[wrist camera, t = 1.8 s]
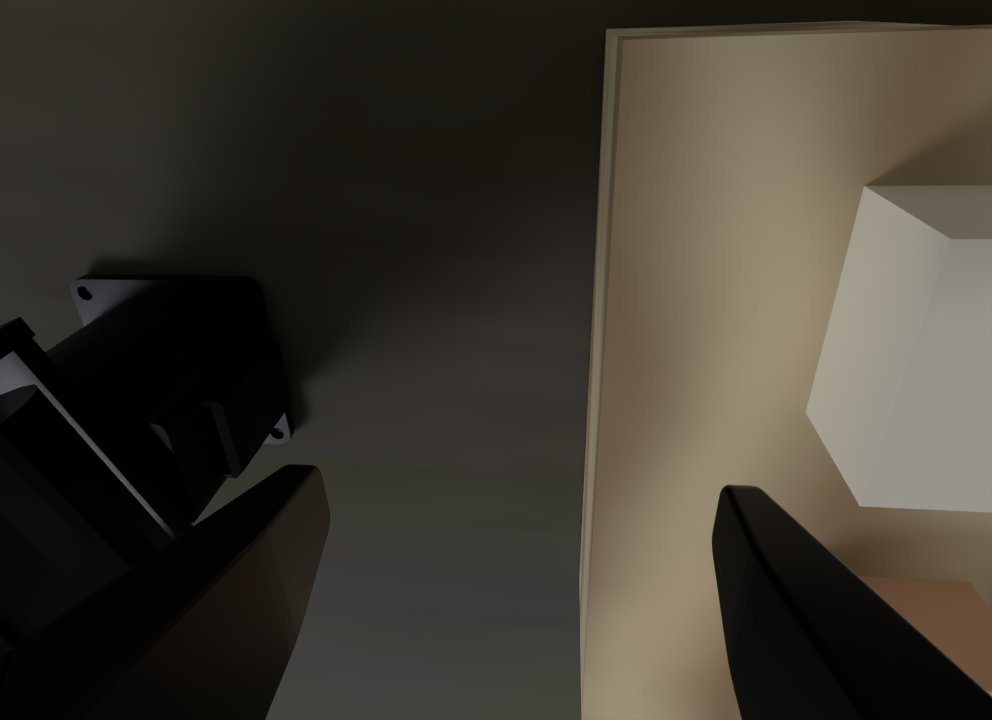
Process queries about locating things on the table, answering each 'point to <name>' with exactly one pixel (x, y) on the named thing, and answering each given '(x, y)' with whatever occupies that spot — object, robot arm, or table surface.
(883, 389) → the light grey block
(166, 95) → the table surface
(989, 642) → the tan clay block
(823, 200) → the beige elongated piece
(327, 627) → the table surface
